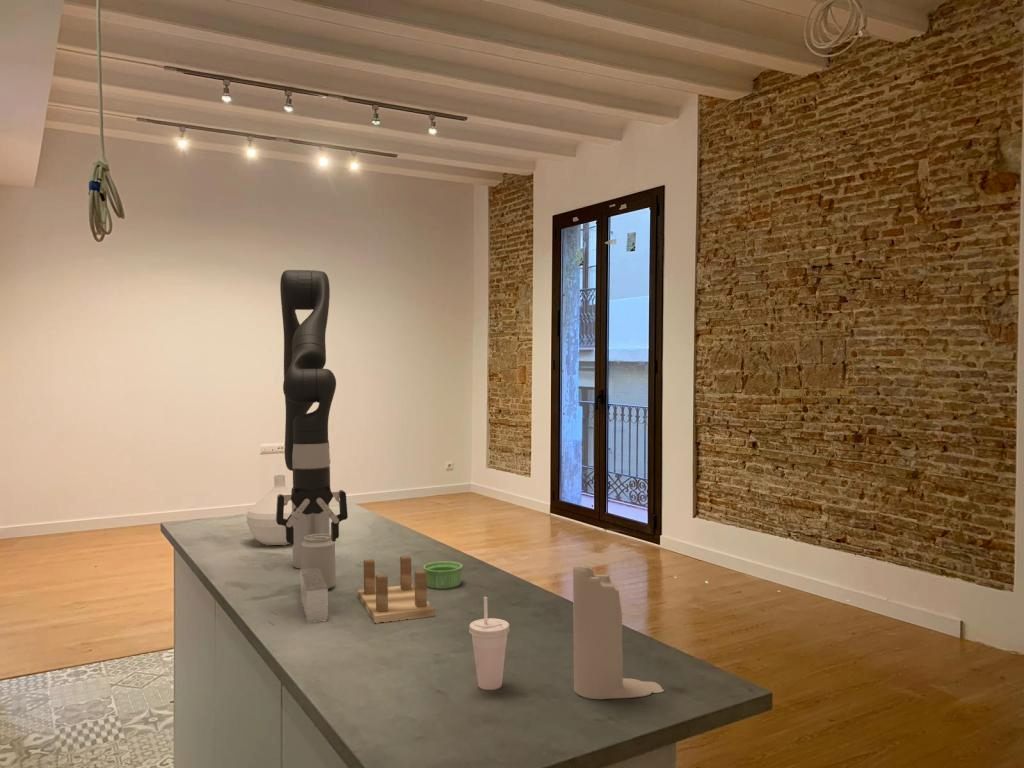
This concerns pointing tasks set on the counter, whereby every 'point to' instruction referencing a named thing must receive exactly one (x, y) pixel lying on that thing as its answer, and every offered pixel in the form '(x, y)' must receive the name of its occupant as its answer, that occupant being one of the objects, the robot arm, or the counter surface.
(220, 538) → the counter surface
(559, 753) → the counter surface
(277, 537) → the vase
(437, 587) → the ramekin
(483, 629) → the smoothie
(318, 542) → the can
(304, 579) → the pale beige plank
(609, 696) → the candle
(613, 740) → the counter surface
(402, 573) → the rack
